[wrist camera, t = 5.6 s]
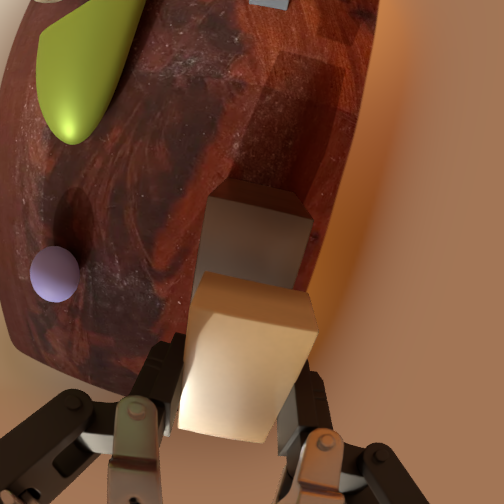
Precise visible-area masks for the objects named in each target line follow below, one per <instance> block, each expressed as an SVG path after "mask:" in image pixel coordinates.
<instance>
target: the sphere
mask: <svg viewBox="0 0 504 504" xmlns="http://www.w3.org/2000/svg"><path fill="white" fill-rule="evenodd" d="M30 278H31V282H32V286H33V288H34V289H35V291H36V292H37V294H38V295H39V296H41V297H42V298H43V299H45V300H47V301H50V302H61V301H64V300H66V299H68V298H69V297H71V295H72V294H73V293H74V292H75V291H76V289H77V286H78V283H79V280H80V270H79V266H78V263H77V261H76V259H75V257H74V256H73V255H72V254H71V253H70V252H69V251H68V250H66V249H64V248H62V247H59V246H50V247H46V248H44V249H43V250H41V251H40V252H38V254H37V255H36V256H35V258H34V260H33V261H32V264H31V269H30Z"/></svg>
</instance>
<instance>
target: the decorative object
mask: <svg viewBox="0 0 504 504" xmlns="http://www.w3.org/2000/svg"><path fill="white" fill-rule="evenodd" d="M34 1H37V2H42V3H53V2H58V1H62V0H34Z"/></svg>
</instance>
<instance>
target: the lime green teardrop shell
mask: <svg viewBox="0 0 504 504" xmlns="http://www.w3.org/2000/svg"><path fill="white" fill-rule="evenodd" d="M145 2H146V0H90V1H88V2H87V3H85V4H84V5H82V6H80V7H79V8H77V9H76V10H74V11H73V12H71V13H69V14H68V15H66V16H65V17H63V18H61V19H60V20H58V21H57V22H55V23H54V24H52V25H51V26H49V27H48V28H47V29H45V30H44V31H43V32H42V33H41V35H40V38H39V45H38V52H37V63H36V86H37V95H38V100H39V104H40V108H41V111H42V114H43V116H44V118H45V121H46V122H47V124H48V126H49V128H50V129H51V131H52V132H53V133H54V134H55V135H56V136H57V137H58V138H59V139H60V140H61V141H63V142H65V143H67V144H71V145H74V144H78V143H81V142H82V141H84V140H85V139H86V138H88V137H89V136H90V135H91V133H92V132H93V131H94V130H95V128H96V127H97V125H98V124H99V122H100V121H101V119H102V117H103V115H104V114H105V112H106V110H107V108H108V106H109V103H110V101H111V99H112V97H113V94H114V92H115V89H116V87H117V84H118V82H119V79H120V76H121V73H122V71H123V68H124V65H125V62H126V59H127V56H128V53H129V50H130V47H131V44H132V41H133V38H134V35H135V32H136V29H137V26H138V23H139V20H140V17H141V14H142V11H143V8H144V5H145Z"/></svg>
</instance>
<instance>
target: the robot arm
mask: <svg viewBox="0 0 504 504" xmlns="http://www.w3.org/2000/svg"><path fill="white" fill-rule="evenodd" d="M185 339H186V335H185V334H181V333H177V332H176V333H175V334H174V337H173V339H172V341H171V344H170V343H167V342H163V341H160V342H158V343H157V344H156V345H154V346H153V347H152V348H151V350H150V352H149V354H148V356H147V359H146V361H145V363H144V366H143V367H142V369H141V371H140V373H139V375H138V378H137V380H136V382H135V384H134V386H133V388H132V390H131V392H130V394H129V395H128V396H126V397H124V398H122V399H121V400H120V401H119V402H114V403H104V402H95V401H92V400H91V398H90V397H89V395H88V394H86V393H85V392H83V391H81V390H78V389H68V390H65V391H63V392H61V393H60V394H58V395H57V396H56V397H54V398H53V399H52V400H51V401H49V402H48V403H47V404H45V405H44V406H43V407H41V408H40V409H39V410H37V411H36V412H35V413H33V414H32V415H31V416H30V417H28V418H27V419H26V420H25V421H23V422H22V423H20V424H19V425H18V426H16V427H15V428H14V429H13V430H11V431H10V432H9V433H7V434H6V435H5V436H3V437H2V438H1V439H0V504H49V503H51V501H52V500H54V499H55V498H56V497H57V496H58V495H59V494H60V493H61V492H62V491H63V490H64V489H65V488H66V487H67V486H69V485H70V484H71V483H72V482H73V481H74V480H75V479H76V478H77V477H78V476H79V475H80V474H81V473H82V472H83V471H84V470H85V469H86V468H87V467H88V466H89V465H90V464H91V463H92V462H93V461H94V460H95V459H96V458H97V457H98V456H99V455H100V454H101V453H105V454H112V458H111V459H110V460H109V464H108V478H107V480H108V481H107V504H163V497H162V487H161V475H160V460H159V447H160V444H161V441H162V437H163V435H164V436H168V437H170V433H171V430H172V426H173V423H174V419H175V416H176V412H177V409H178V405H179V402H180V396H181V386H182V376H183V366H184V362H183V357H184V348H185ZM277 434H278V456H287V463H286V465H285V466H284V468H283V471H282V474H281V477H280V480H279V484H278V487H277V490H276V493H275V496H274V499H273V502H272V504H429V502H428V501H427V500H426V498H425V496H424V495H423V494H422V492H421V491H420V489H419V488H418V486H417V485H416V484H415V482H414V481H413V479H412V478H411V476H410V475H409V473H408V472H407V470H406V469H405V468H404V466H403V465H402V463H401V462H400V460H399V459H398V458H397V456H396V455H395V453H394V452H393V451H392V449H391V448H390V447H389V446H387V445H385V444H383V443H372V444H370V445H368V446H367V447H366V448H361V447H357V446H353V445H350V444H347V443H345V442H343V439H342V438H341V436H340V435H339V434H338V433H337V432H335V431H334V430H333V427H332V422H331V417H330V411H329V406H328V402H327V397H326V393H325V387H324V382H323V380H322V379H321V377H320V376H319V374H318V373H317V372H314V371H310V369H309V363H308V360H307V359H306V362H305V364H304V366H303V368H302V370H301V372H300V374H299V376H298V378H297V381H296V383H294V385H293V387H292V389H291V391H290V393H289V395H288V397H287V399H286V401H285V403H284V405H283V406H282V408H281V410H280V412H279V414H278V416H277Z"/></svg>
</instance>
